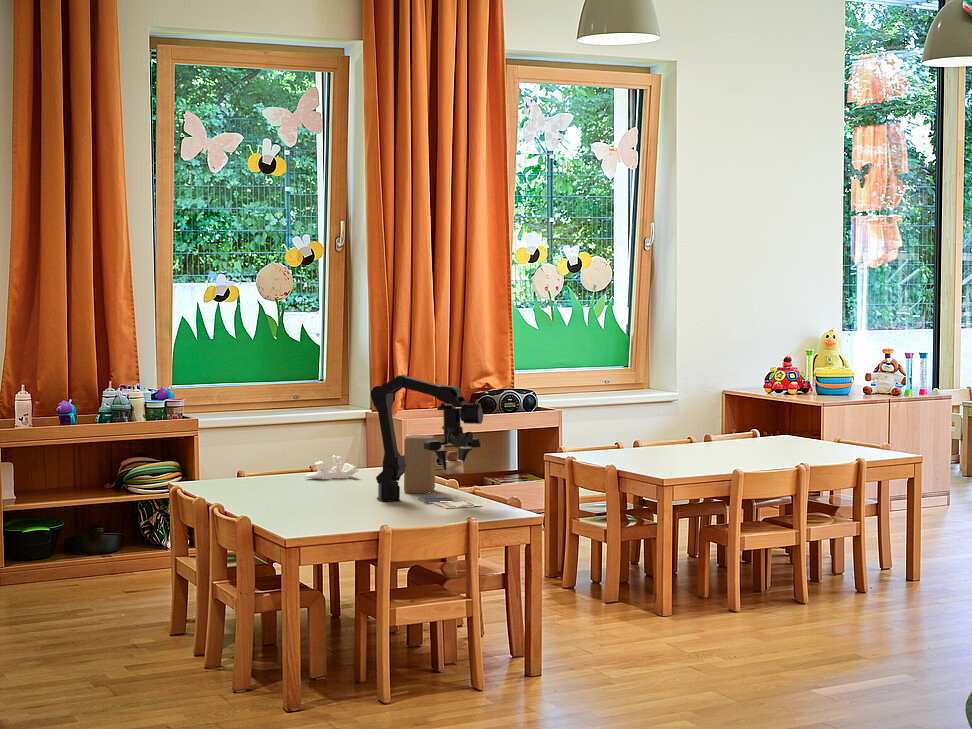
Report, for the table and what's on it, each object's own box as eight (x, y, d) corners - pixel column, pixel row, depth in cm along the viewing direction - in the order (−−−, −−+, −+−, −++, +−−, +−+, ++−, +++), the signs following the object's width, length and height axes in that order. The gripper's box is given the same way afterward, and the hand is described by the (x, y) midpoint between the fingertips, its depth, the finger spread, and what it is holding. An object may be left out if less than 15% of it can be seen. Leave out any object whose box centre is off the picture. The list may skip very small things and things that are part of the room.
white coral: (300, 478, 443) (300, 455, 442) (349, 475, 451) (349, 453, 451) (308, 481, 433) (308, 458, 432) (358, 479, 441) (359, 456, 441)
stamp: (448, 475, 380) (448, 453, 380) (441, 473, 385) (441, 451, 385) (463, 474, 383) (463, 452, 382) (456, 472, 388) (456, 450, 387)
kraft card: (446, 509, 374) (446, 507, 374) (433, 503, 384) (433, 502, 384) (482, 506, 380) (482, 505, 380) (468, 501, 390) (468, 500, 390)
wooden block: (435, 489, 416) (435, 435, 415) (431, 494, 406) (431, 438, 405) (408, 489, 417) (408, 434, 416) (403, 493, 407) (403, 437, 406)
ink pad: (425, 503, 385) (425, 499, 384) (417, 500, 391) (417, 496, 391) (452, 501, 389) (452, 497, 389) (444, 498, 395) (444, 494, 395)
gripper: (436, 426, 372) (436, 474, 373) (487, 423, 380) (488, 470, 381) (422, 424, 382) (423, 470, 383) (473, 421, 390) (473, 466, 391)
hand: (452, 469), depth 384 cm, fingers closed on stamp, 5 cm apart
